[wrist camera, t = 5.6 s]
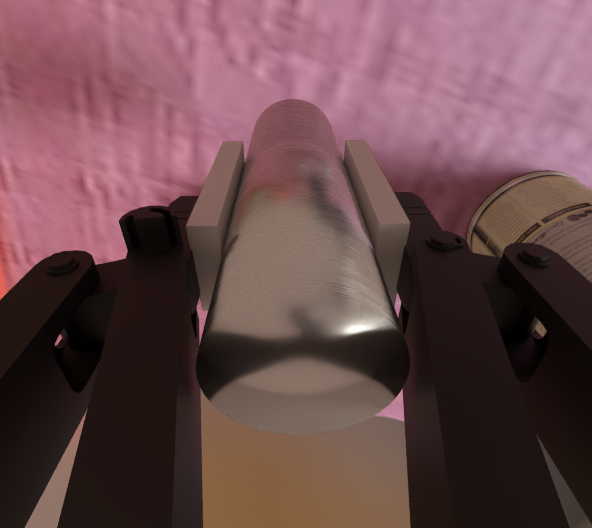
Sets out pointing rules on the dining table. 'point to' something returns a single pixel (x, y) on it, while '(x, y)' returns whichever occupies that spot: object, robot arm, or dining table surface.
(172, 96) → the dining table surface
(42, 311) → the robot arm
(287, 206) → the long pin
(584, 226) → the coffee can
